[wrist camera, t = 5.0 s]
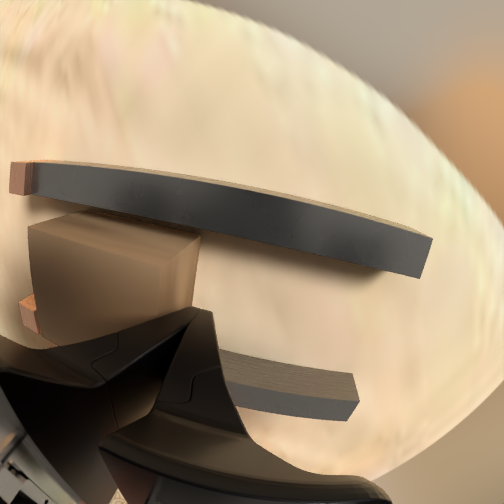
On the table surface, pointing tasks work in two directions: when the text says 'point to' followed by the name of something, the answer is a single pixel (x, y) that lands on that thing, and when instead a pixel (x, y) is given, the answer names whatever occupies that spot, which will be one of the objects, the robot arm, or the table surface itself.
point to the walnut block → (107, 274)
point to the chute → (249, 227)
